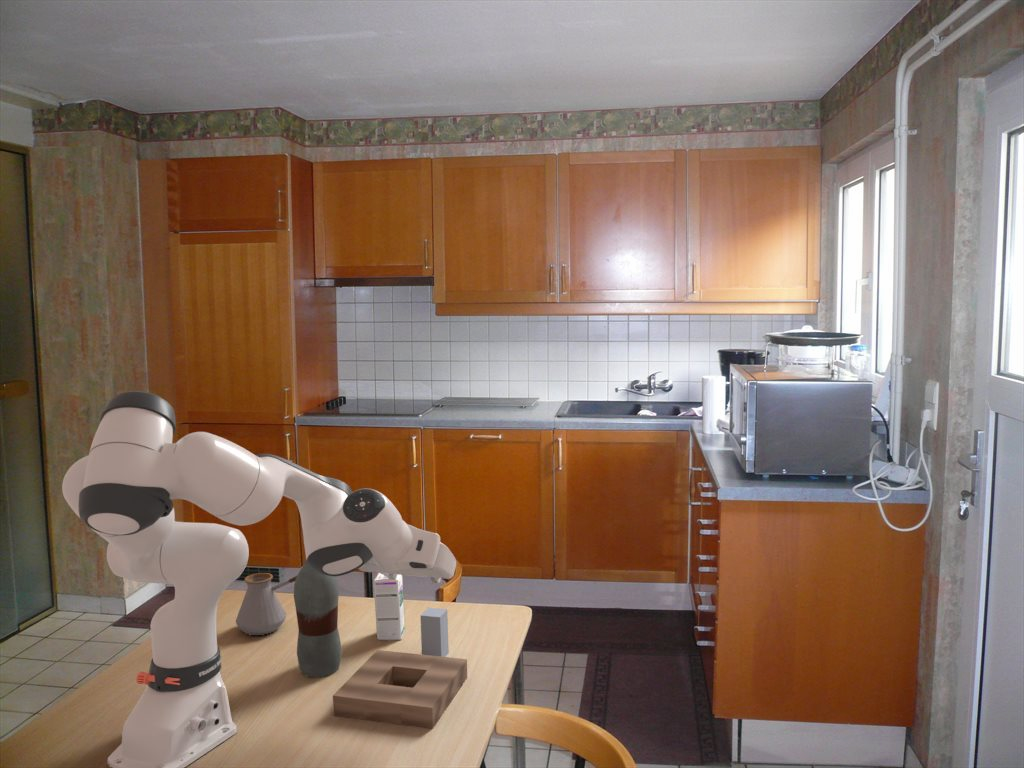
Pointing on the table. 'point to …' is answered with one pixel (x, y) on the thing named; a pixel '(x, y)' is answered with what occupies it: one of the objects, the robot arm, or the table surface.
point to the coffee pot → (261, 606)
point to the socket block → (401, 688)
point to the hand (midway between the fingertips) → (415, 577)
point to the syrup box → (389, 607)
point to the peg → (434, 632)
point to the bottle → (317, 622)
